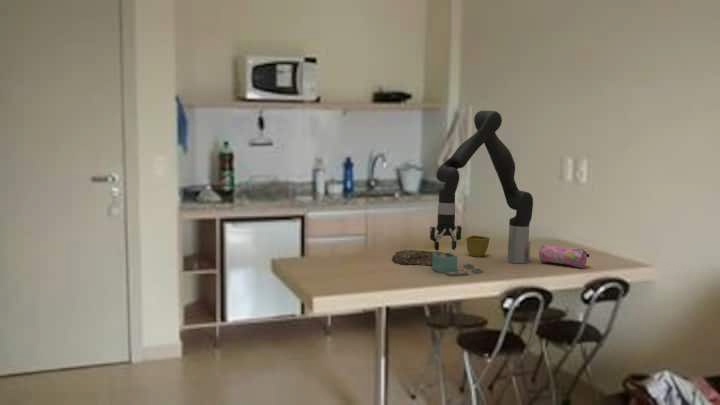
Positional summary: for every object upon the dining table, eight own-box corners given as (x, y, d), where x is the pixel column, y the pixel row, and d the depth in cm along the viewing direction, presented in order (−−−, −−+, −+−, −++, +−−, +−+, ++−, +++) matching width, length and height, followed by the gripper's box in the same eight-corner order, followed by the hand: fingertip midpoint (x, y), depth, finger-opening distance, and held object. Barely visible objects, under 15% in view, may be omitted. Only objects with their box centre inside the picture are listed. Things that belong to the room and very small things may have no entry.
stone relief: (396, 244, 356) (458, 248, 350) (396, 253, 356) (457, 257, 351) (388, 255, 330) (455, 259, 325) (388, 265, 331) (454, 269, 325)
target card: (463, 272, 317) (463, 270, 317) (468, 275, 313) (468, 272, 312) (444, 273, 315) (444, 271, 315) (449, 276, 310) (449, 274, 310)
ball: (444, 252, 320) (439, 251, 317) (450, 257, 318) (444, 257, 315) (440, 259, 321) (434, 258, 319) (445, 265, 319) (440, 264, 316)
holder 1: (470, 266, 329) (470, 264, 329) (474, 268, 325) (474, 265, 325) (463, 267, 328) (463, 264, 328) (466, 268, 324) (466, 266, 324)
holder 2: (479, 271, 320) (479, 268, 320) (483, 273, 317) (483, 270, 317) (471, 271, 319) (471, 269, 319) (475, 273, 316) (475, 270, 316)
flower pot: (489, 255, 354) (490, 237, 353) (482, 258, 347) (482, 239, 345) (472, 253, 359) (473, 235, 357) (465, 256, 351) (465, 237, 350)
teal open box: (449, 268, 325) (449, 252, 324) (456, 272, 317) (457, 256, 316) (432, 269, 323) (432, 253, 322) (439, 273, 315) (439, 257, 314)
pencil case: (589, 266, 334) (590, 247, 332) (583, 270, 326) (584, 250, 325) (543, 260, 346) (544, 241, 344) (536, 263, 338) (538, 244, 337)
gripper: (458, 210, 322) (456, 247, 324) (427, 211, 318) (426, 248, 320) (465, 213, 315) (463, 251, 317) (434, 214, 311) (433, 252, 313)
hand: (445, 249), depth 319 cm, fingers open, 7 cm apart
